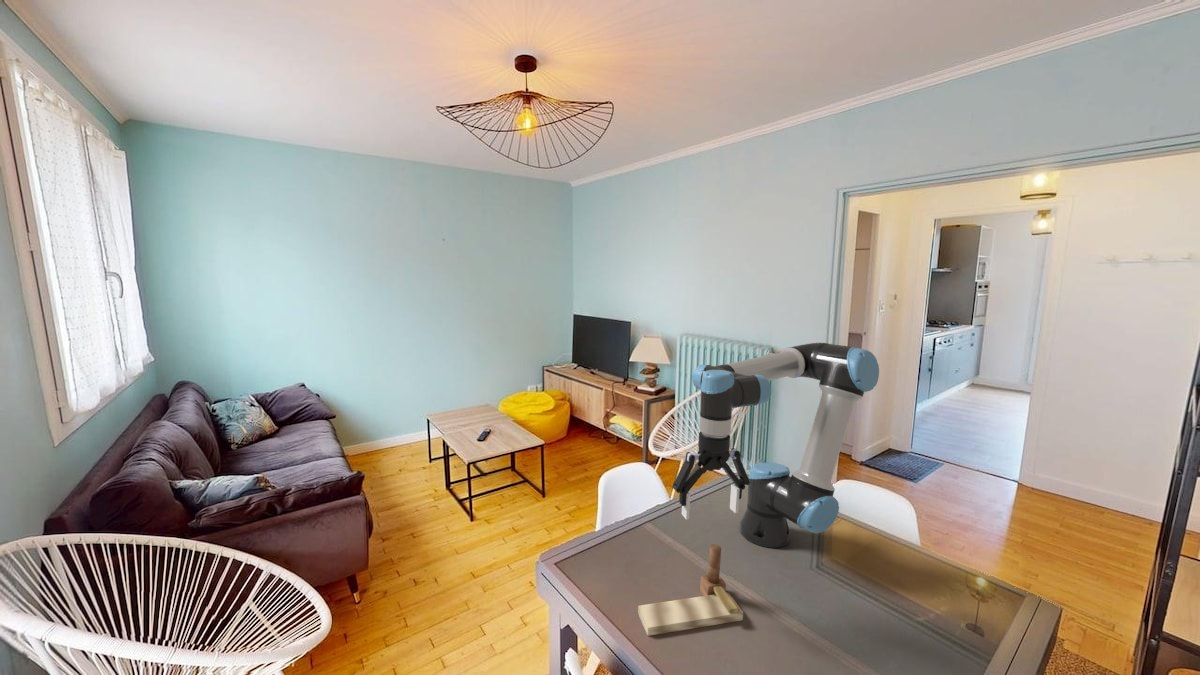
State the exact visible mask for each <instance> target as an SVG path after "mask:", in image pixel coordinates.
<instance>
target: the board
mask: <svg viewBox="0 0 1200 675" xmlns="http://www.w3.org/2000/svg"><path fill="white" fill-rule="evenodd" d="M726 594H727V595H728V596H729V598H730V599H731V600H732V602H733V603H734V604H735V606H736V607H737V612H736V613H729V612H728V611H727V609H726V608H725V606H724V605H723V604H722V602H721V601H720V599H719V598H718V596H717V595H716V594H714V595H707V596H703V595H702V596H695V597H688V598H682V599H681V598H680V599H674V600H669V601H661V602H654V603H647V604H641V605H638V607H637V614H638V616H639V619H640V622H641V624H642V626H643V629H644V631H645V633H646V635H647V636H648V637H649V636H654V635H662V634H667V633H673V632H681V631H686V630H691V629H697V628H703V627H710V626H715V625H721V624H727V623H734V622H741V621H743V620H744V611H743V610H742V609H741V607H740V606H739V605H738V604H737V602H736V601H735V599H734V598H733V597H732V596H731V593H730V592H726Z"/></svg>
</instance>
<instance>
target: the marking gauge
mask: <svg viewBox="0 0 1200 675" xmlns="http://www.w3.org/2000/svg"><path fill="white" fill-rule="evenodd" d="M721 558H722V547H721V545H718V544H714V543H713V544H710V545H709V555H708V567H707V572H708V573H707V575H701V576H700V584H699V585H700V586H699V591H700V593H701V594H702V596H707V595H714V594H716V595H717V596H718V598H719V599H720V601H721V602H722V604H723V605H724V606H725V608H726V609H727V611H728V612H729V613H736V612H737V607H736V606H735V604H734V603H733V602H732V600H731V599H730V598H729V596H728V595H727V594H726V593H727V592H726V590H727V583H726V582H725V580H724V579H723V578H722V577H721V576H720V575H721V574H720V571H721Z"/></svg>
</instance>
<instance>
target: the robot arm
mask: <svg viewBox="0 0 1200 675" xmlns="http://www.w3.org/2000/svg"><path fill="white" fill-rule="evenodd" d="M879 366H880V365H879V363H878V359H877V357H876V356H875V355H874V354H873V352H871V351H870V350H867V349H864V348H860V347H859V348H858V347H856V346H847V345H839V344H833V343H827V342H811V343H805V344H799V345H795V346H791V347H790V346H789V347H786V348H784V349H783V350H782V351H781V352H778V353H772V354H768V355H763V356H762V355H761V356H758V357H754V358H753V357H752V358H749V359H743V360H738V361H736V362H735V361H733V362H729V363H725V364H720V365H711V364H705V363H704V364H700V365H697V367H695V368H694V370H693V372H692V377H691V378H692V381H691V382H692V384H693V385H694V387H695V388H696V389H698V390H700V409H699V414H700V415H699V427H698V428H699V429H698V430H699V431H700V432H698V452H697V453H691V451H688V452H686V454H685V459H684V462H683V463H682V466H681V468H680V470H679V472H678V474H677V475H676V478H675V480H674V481H673V483H672V489H673V490H674V491H675V492H676V493H677V494H678V493H679V495H678V496H679V497H678V498H679V499H678V502H679V505H681V515H682V516H683V518H684V519H685V520H690V508H691V494H690V493H689V492H690V490H691V489H692V488H693V487H694V485H695V484H696V483H698V480H699V479H700V478H701V477H702V476H703V475H705V473H707V471H708V472H712V471H721V469H722V470H723V471H724V472H725V473H726V475H727V476H728V478H730V480H731V481H732V482H733V483H732V484H730V495H729V497H730V498H729V500H730V501H729V509H730V510H731V511H732V512H733V513H734V514H739V505H740V504H739V502H740V500H741V499H742V494H743V490H745V489H746V485H747V486H748V487H747V488H748V489H747V490H748V491H747V505H746V510H745V512H744V513H743V515H742V516H743V517H742V518H741V520H740V522H739V523H740V524H739V532H740V534H741V536H742V537H743V538H745V539H746V540H747V541H749V542H751V543H753V544H755V545H757V546H760V547H765V548H769V549H770V548H771V549H774V548H775V549H776V548H783V547H786V546H787V545H788V544H789V543H790V539H791V532H790V528H789V523H788V520H789V521H791V522H792V523H794V524H795V525H797V527H799V528H800V529H804V530H805V531H808V532H810V533H813V534H820V533H823V532H825V531H827V529H829V528H830V527H831V526H832V525H833V524H834V523H835V521H836V520H837V517H838V515H839V511H840V506H839V505H840V504H839V501H838V500H837V498H836V497H835V496H834V493H835V491H836V489H835V486H834V485H833V483H832V479H833V476H834V473H835V469H836V465H837V462H838V459H839V457H840V456H839V455H840V454H841V453H840V452H841V448H842V445H843V443H844V439H845V436H846V434H847V433H846V432H847V429H848V427H849V422H850V419H851V416H852V412H853V409H854V406H855V403H856V401H859V400H861V399H863V397H864V394H865V393H866V392H871V391H872V390H873V389H874V388H875V387H876V386H877V384H878V381H879V377H880V367H879ZM787 377H788V378H790V379H796V378H808V379H813V380H817V381H819V383H818V387H819V389H820V391H821V393H822V394H821V396H820V400H819V403H818V407H817V409H816V413H815V416H814V418H813V419H814V420H813V423H812V426H811V430H810V433H809V436H808V439H807V440H808V441H807V443H806V446H805V449H804V453H803V456H802V460H801V462H800V467H799V469H798V470H796V471H794V472H792V474H791V471H790V468H789V467H788V466H786V465H784V464H780V463H775V462H759V463H755V464H753V465H752V466H751V467H750V471H749V476H748V474H747V472H746V469H745V467H744V465H743V463H742V459H741V452H740V451H739V450H738V449H736V448H734V447H731V445H730V444H731V436H730V434H731V433H732V431H731V429H732V414H733V409H735V408H736V409H737V408H743V407H750V406H751V407H752V406H758V405H760V404H765V403H767V402H768V401H769V399H770V398H771V396H772V385H771V383H770V381H773V380H779V379H781V378H787ZM730 447H731V449H730ZM729 458H731V460H732V462H733V465H734V467H735V470H736V472H737V475H738V476H737V475H736V473H735V472H734V471H733V470H732V468H731V467H730V465H729V464H728V463H727V461H728V460H729ZM697 460H698V461H697ZM790 474H791V476H790Z"/></svg>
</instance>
